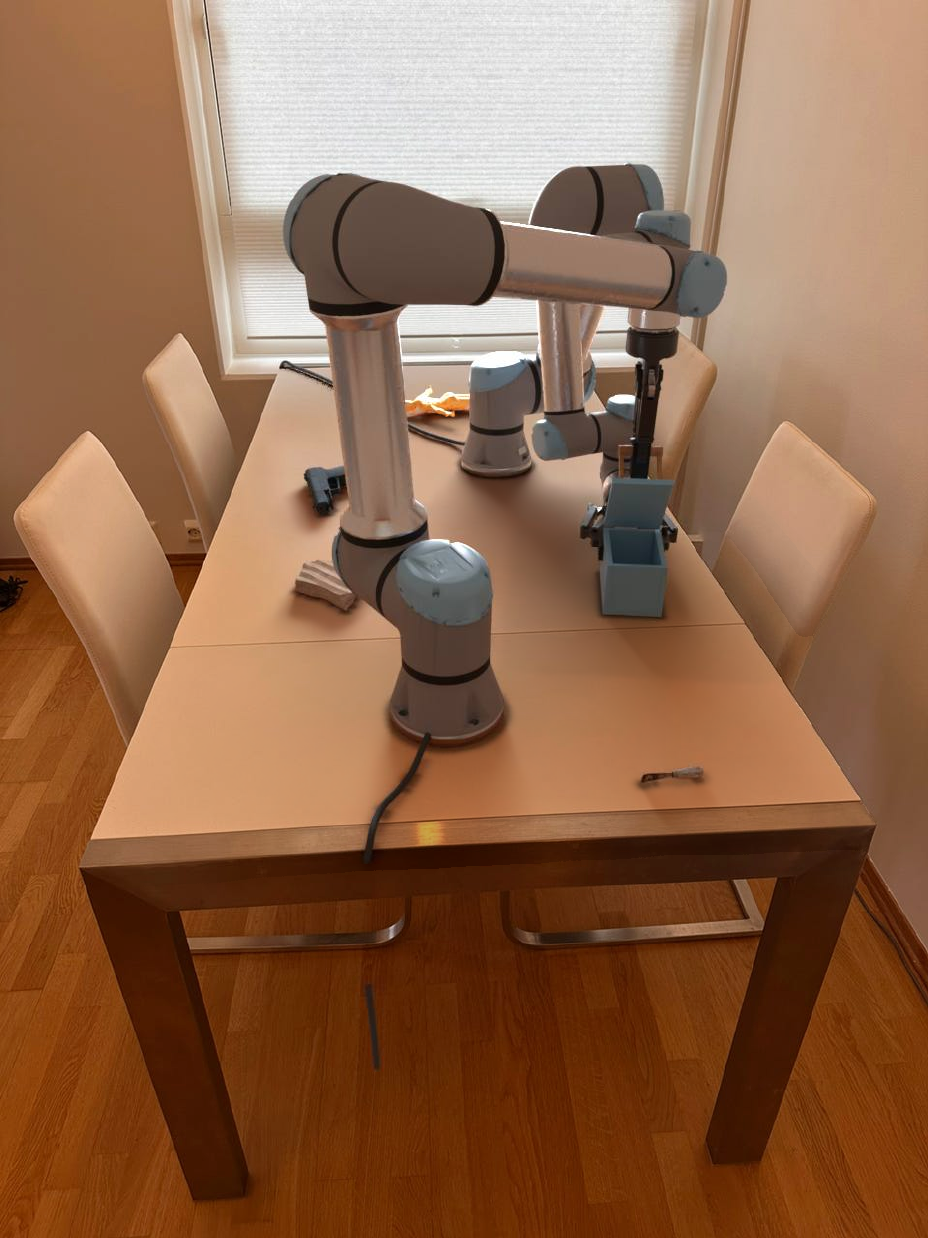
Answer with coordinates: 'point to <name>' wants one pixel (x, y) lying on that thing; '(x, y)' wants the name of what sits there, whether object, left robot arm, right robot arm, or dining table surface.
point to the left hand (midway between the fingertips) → (638, 476)
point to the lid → (638, 496)
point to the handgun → (324, 486)
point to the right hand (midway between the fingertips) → (631, 554)
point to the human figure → (438, 403)
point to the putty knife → (674, 774)
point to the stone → (324, 583)
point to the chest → (633, 572)
